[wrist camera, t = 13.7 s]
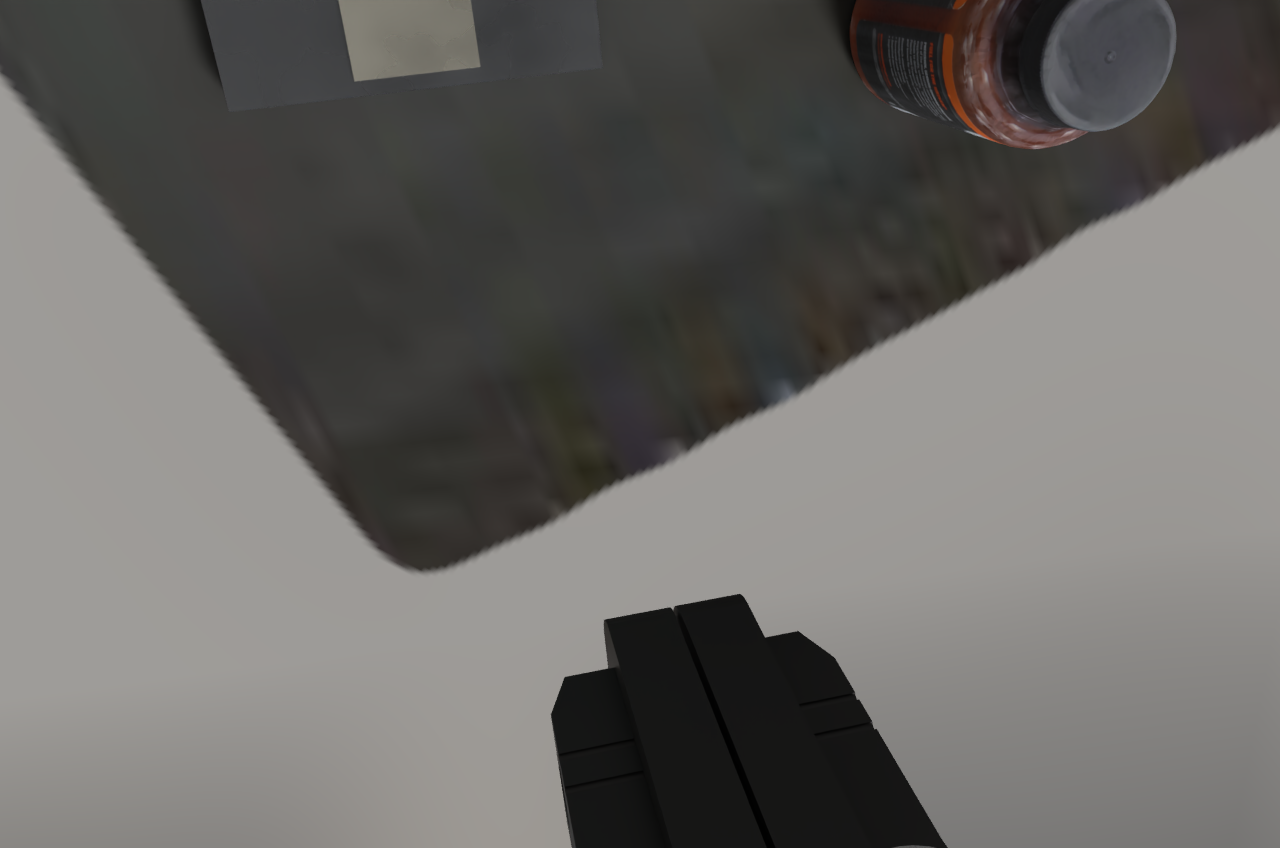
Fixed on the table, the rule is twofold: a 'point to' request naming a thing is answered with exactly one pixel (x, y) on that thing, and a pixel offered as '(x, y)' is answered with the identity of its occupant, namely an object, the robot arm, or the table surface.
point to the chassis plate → (391, 45)
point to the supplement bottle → (1015, 63)
